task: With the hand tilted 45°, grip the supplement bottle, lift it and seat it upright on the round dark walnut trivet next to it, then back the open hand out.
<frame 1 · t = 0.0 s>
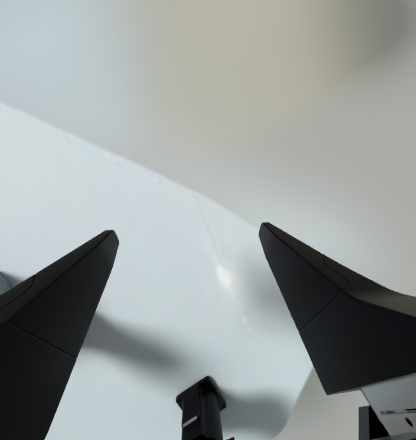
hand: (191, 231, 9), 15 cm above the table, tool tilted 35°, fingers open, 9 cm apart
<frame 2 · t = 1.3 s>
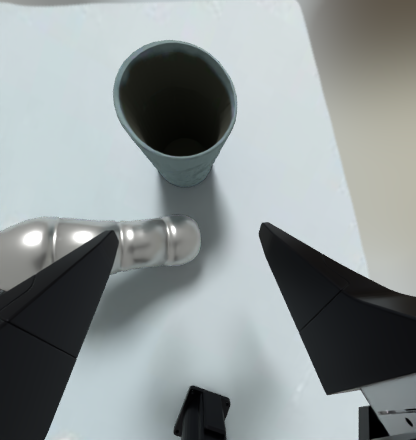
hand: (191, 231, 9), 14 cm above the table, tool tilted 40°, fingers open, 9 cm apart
grey-green cup: (186, 162, 24), on the table
plastic bottle: (195, 237, 22), point 2 cm above the table
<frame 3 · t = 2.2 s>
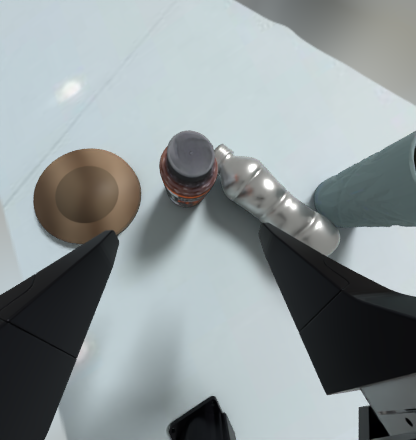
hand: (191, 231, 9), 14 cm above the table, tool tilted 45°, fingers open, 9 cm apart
grey-green cup: (337, 204, 26), on the table
plastic bottle: (324, 250, 21), point 3 cm above the table
walnut trivet: (92, 196, 22), on the table
supplement bottle: (186, 189, 24), on the table
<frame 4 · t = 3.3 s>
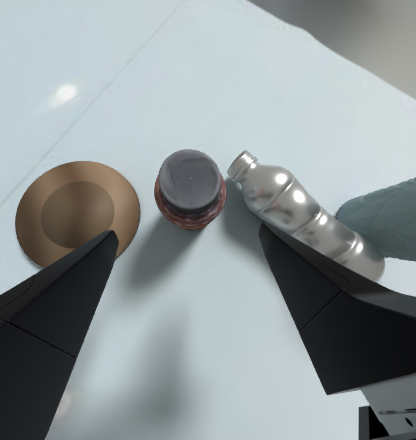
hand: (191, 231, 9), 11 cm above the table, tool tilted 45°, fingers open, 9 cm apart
grey-green cup: (362, 227, 23), on the table
plastic bottle: (361, 275, 18), point 3 cm above the table
walnut trivet: (84, 215, 20), on the table
supplement bottle: (192, 209, 21), on the table
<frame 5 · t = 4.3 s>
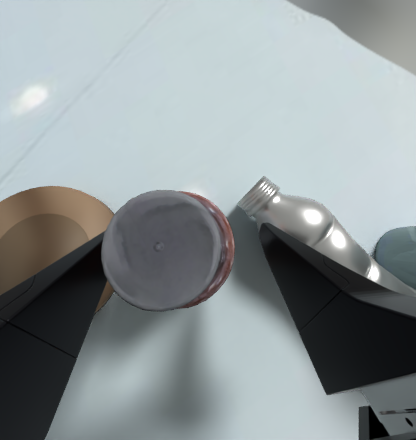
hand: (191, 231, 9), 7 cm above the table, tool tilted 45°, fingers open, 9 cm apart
grey-green cup: (406, 265, 18), on the table
walnut trivet: (52, 257, 15), on the table
supplement bottle: (193, 246, 16), on the table
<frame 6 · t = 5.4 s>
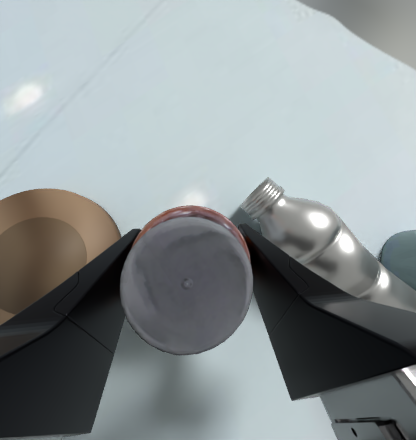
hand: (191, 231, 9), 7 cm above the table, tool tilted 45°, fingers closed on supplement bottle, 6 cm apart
grey-green cup: (413, 269, 18), on the table
walnut trivet: (47, 262, 14), on the table
supplement bottle: (193, 250, 16), on the table, touching gripper
when the fingers open (9 cm above the table, at t = 9.9 s): supplement bottle drops 1 cm, resting on walnut trivet.
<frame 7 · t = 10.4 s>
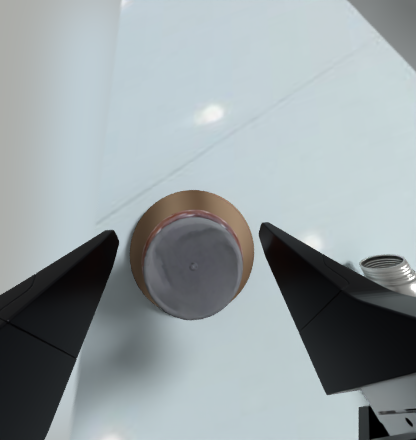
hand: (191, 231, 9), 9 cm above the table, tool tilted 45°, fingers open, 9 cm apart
walnut trivet: (194, 248, 18), on the table
supplement bottle: (193, 251, 17), point 1 cm above the table, touching walnut trivet
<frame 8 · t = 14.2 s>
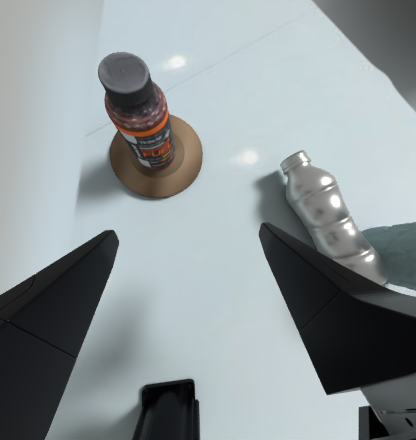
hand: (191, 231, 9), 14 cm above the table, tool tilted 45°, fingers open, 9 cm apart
grey-green cup: (377, 255, 25), on the table
plastic bottle: (362, 285, 20), point 3 cm above the table
walnut trivet: (158, 156, 24), on the table
supplement bottle: (157, 154, 23), point 1 cm above the table, touching walnut trivet
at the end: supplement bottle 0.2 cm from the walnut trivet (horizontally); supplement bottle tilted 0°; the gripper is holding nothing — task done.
